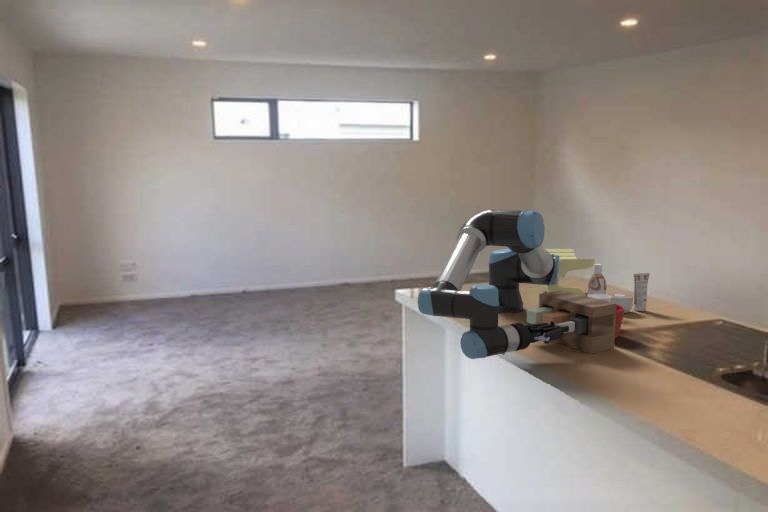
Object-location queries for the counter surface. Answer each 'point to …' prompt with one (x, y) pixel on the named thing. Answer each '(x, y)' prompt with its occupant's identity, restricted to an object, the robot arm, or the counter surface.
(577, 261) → the slatted curved stool
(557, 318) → the rust key
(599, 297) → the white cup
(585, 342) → the box
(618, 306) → the flower pot
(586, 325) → the slate key
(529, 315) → the sage key
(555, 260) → the robot arm
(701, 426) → the counter surface
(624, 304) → the cosmetic set
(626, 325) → the counter surface
